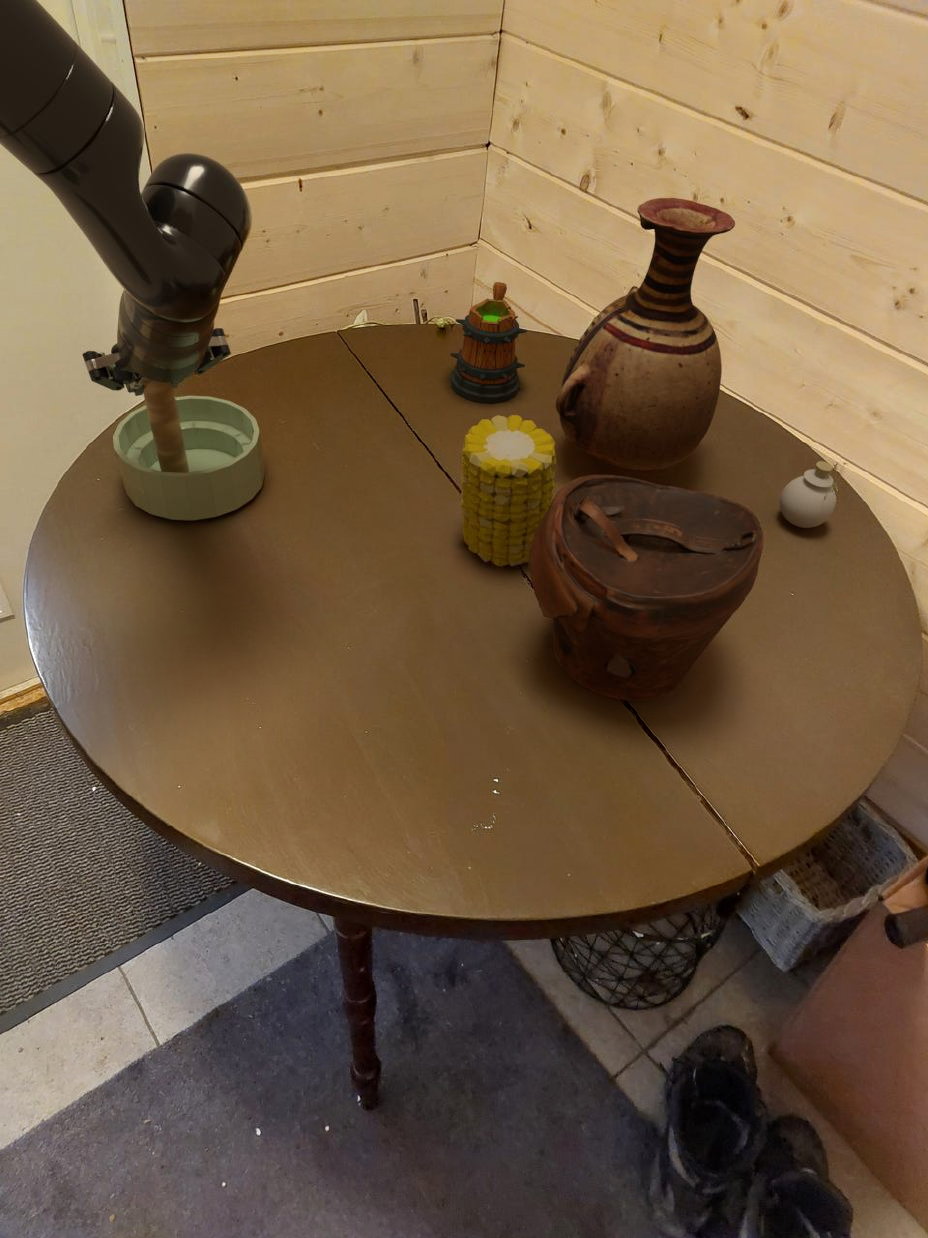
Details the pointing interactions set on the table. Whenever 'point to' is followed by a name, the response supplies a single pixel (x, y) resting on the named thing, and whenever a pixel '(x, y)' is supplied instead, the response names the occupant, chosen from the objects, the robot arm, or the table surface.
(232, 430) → the bowl
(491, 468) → the food
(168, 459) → the stick
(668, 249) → the vase
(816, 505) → the ornament
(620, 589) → the case
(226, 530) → the table surface
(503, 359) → the mug
